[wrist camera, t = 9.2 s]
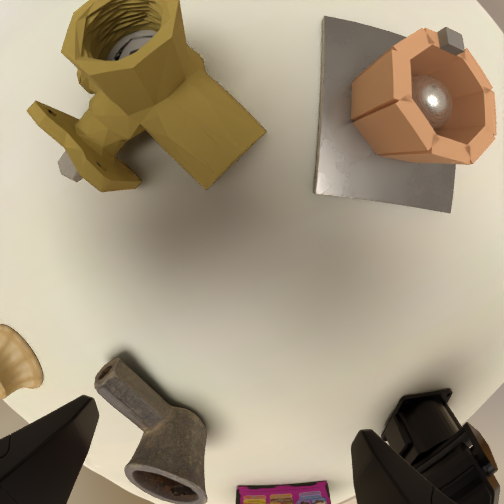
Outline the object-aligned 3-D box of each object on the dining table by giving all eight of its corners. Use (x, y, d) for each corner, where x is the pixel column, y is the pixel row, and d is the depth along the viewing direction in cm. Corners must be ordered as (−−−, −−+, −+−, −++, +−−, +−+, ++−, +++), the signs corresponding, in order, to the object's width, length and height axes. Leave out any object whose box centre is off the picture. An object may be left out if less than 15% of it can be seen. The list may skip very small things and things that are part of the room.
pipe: (137, 341, 21) (95, 410, 13) (233, 434, 24) (227, 504, 16) (95, 366, 22) (53, 425, 14) (186, 449, 25) (172, 510, 17)
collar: (435, 168, 16) (505, 174, 9) (349, 151, 16) (401, 143, 9) (436, 79, 14) (498, 55, 8) (351, 54, 14) (395, 6, 8)
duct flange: (447, 58, 14) (493, 37, 9) (444, 211, 17) (496, 228, 12) (321, 21, 14) (343, -25, 9) (313, 192, 17) (338, 203, 12)
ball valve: (141, 27, 15) (46, 126, 16) (102, -61, 5) (-49, 101, 6) (265, 134, 18) (158, 242, 19) (317, 83, 8) (104, 300, 9)
